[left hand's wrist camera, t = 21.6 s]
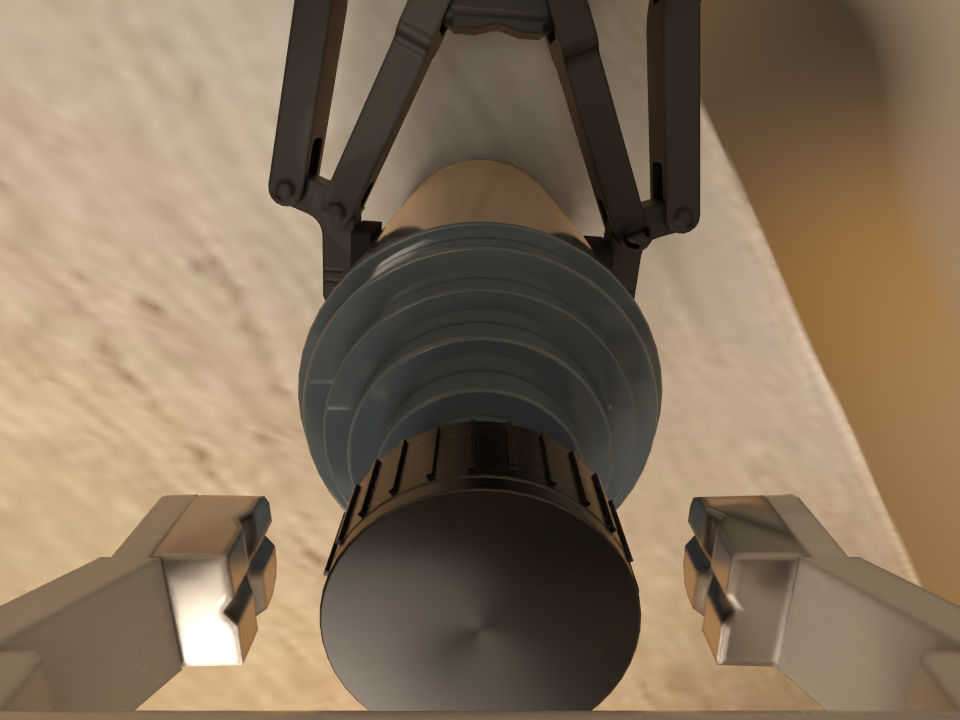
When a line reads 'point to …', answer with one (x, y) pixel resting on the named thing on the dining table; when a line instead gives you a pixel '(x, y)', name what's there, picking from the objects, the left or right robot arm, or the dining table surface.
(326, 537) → the dining table surface
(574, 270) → the bottle
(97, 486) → the dining table surface
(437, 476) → the cap
